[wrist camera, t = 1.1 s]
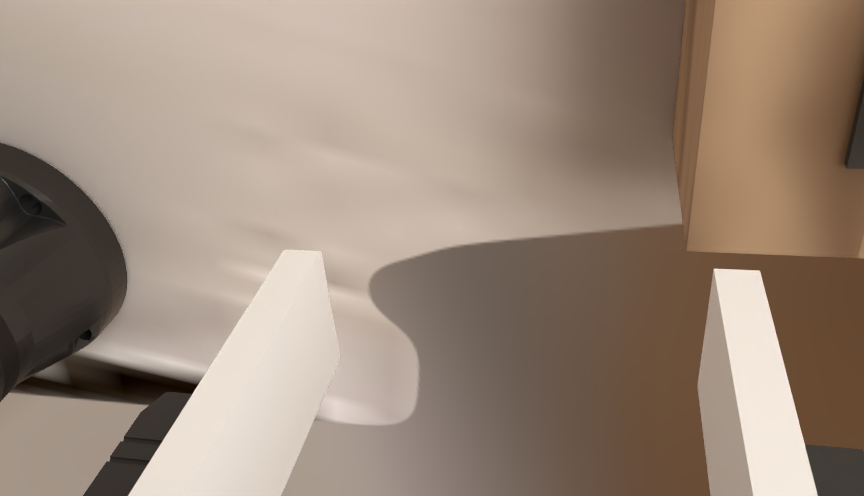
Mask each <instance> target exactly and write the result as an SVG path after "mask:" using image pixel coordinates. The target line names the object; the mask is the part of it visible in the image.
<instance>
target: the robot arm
mask: <svg viewBox="0 0 864 496" xmlns="http://www.w3.org/2000/svg"><path fill="white" fill-rule="evenodd" d="M126 288H127V272H126V265H125V260H124V257H123V253H122V250H121V247H120V245H119V242H118V240H117V238H116V236H115V234H114V232H113V230H112V228H111V227H110V225H109V223H108V222H107V220H106V219H105V217H104V216H103V214H102V213H101V212H100V210H99V209H98V208H97V207H96V205H95V204H94V203H93V202H92V201H91V200H90V198H89V197H88V196H87V195H86V194H85V193H84V192H83V191H82V190H81V189H80V188H79V187H78V186H76V185H75V184H74V183H73V182H72V181H71V180H69V179H68V178H67V177H66V176H64V175H63V174H62V173H61V172H59V171H58V170H56V169H55V168H53V167H52V166H50V165H49V164H47V163H45V162H44V161H42V160H40V159H38V158H37V157H35V156H33V155H31V154H29V153H26V152H24V151H22V150H19V149H17V148H14V147H11V146H8V145H5V144H2V143H0V402H1V400H2V399H3V398H4V397H5V396H6V395H7V394H8V393H9V392H10V391H11V390H12V389H13V388H14V387H15V385H17V384H18V383H20V382H22V381H23V380H25V379H27V378H29V377H31V376H33V375H34V374H36V373H38V372H40V371H42V370H44V369H45V368H47V367H49V366H51V365H53V364H55V363H56V362H58V361H60V360H62V359H64V358H66V357H68V356H69V355H71V354H73V353H75V352H77V351H79V350H80V349H82V348H84V347H85V346H87V345H88V344H90V343H91V342H92V341H93V340H94V339H96V338H97V337H98V336H99V334H100V333H101V332H102V331H103V330H104V329H105V327H106V326H107V325H108V324H109V323H110V322H111V320H112V319H113V318H114V317H115V316H116V314H117V313H118V311H119V310H120V308H121V306H122V304H123V301H124V298H125V294H126ZM339 362H340V353H339V348H338V342H337V336H336V331H335V325H334V320H333V314H332V309H331V303H330V297H329V292H328V286H327V281H326V275H325V270H324V264H323V258H322V253H321V251H307V250H285V249H284V251H283V252H282V254H281V255H280V257H279V259H278V260H277V262H276V263H275V265H274V266H273V268H272V270H271V271H270V273H269V274H268V276H267V278H266V279H265V281H264V282H263V284H262V285H261V287H260V289H259V290H258V292H257V293H256V295H255V296H254V298H253V300H252V301H251V303H250V304H249V306H248V307H247V309H246V311H245V312H244V314H243V315H242V317H241V318H240V320H239V322H238V323H237V325H236V326H235V328H234V330H233V331H232V333H231V334H230V336H229V337H228V339H227V341H226V342H225V344H224V345H223V347H222V348H221V350H220V352H219V353H218V355H217V356H216V358H215V359H214V361H213V363H212V364H211V366H210V367H209V369H208V371H207V372H206V374H205V375H204V377H203V378H202V380H201V382H200V383H199V385H198V386H197V388H196V389H195V391H194V393H193V394H186V393H174V392H166V393H165V394H163V395H162V396H161V397H159V398H158V399H157V400H156V401H154V402H153V403H152V404H151V405H149V406H148V407H147V408H146V409H144V410H143V411H142V412H141V413H140V414H139V416H138V417H137V419H136V420H135V421H134V423H133V425H132V426H131V427H130V429H129V430H128V432H127V433H126V435H125V436H124V441H123V442H120V443H119V445H118V446H117V447H116V449H115V450H114V452H113V453H112V455H111V456H110V461H109V462H106V463H105V465H104V466H103V468H102V469H101V471H100V472H99V473H98V475H97V476H96V478H95V479H94V481H93V482H92V484H91V485H90V486H89V488H88V489H87V491H86V492H85V494H84V495H83V496H281V494H282V492H283V490H284V487H285V485H286V483H287V481H288V478H289V476H290V474H291V471H292V469H293V467H294V465H295V462H296V460H297V458H298V455H299V453H300V451H301V448H302V446H303V444H304V442H305V439H306V437H307V435H308V433H309V430H310V428H311V426H312V423H313V421H314V419H315V417H316V414H317V412H318V410H319V407H320V405H321V403H322V401H323V398H324V396H325V394H326V391H327V389H328V387H329V384H330V382H331V380H332V378H333V375H334V373H335V371H336V368H337V366H338V364H339ZM698 393H699V402H700V410H701V418H702V427H703V435H704V444H705V452H706V460H707V469H708V477H709V486H710V493H711V496H864V451H863V450H862V449H850V448H839V447H827V446H816V445H805V444H804V441H803V436H802V432H801V429H800V425H799V421H798V417H797V413H796V409H795V405H794V401H793V397H792V394H791V390H790V386H789V382H788V378H787V374H786V370H785V367H784V363H783V359H782V355H781V351H780V347H779V343H778V340H777V336H776V332H775V328H774V324H773V320H772V317H771V312H770V308H769V305H768V300H767V297H766V293H765V289H764V286H763V281H762V277H761V273H760V271H754V270H733V269H732V270H731V269H714V271H713V278H712V285H711V293H710V300H709V307H708V314H707V322H706V328H705V336H704V343H703V350H702V357H701V364H700V371H699V378H698Z"/></svg>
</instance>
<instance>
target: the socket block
mask: <svg viewBox="0 0 864 496" xmlns="http://www.w3.org/2000/svg"><path fill="white" fill-rule="evenodd" d="M673 148H674V156H675V164H676V172H677V180H678V187H679V195H680V203H681V211H682V219H683V226H684V235H685V242H686V249H687V251H697V252H720V253H745V254H770V255H794V256H819V257H843V258H864V0H686V3H685V14H684V24H683V35H682V45H681V56H680V66H679V77H678V87H677V98H676V108H675V119H674V129H673Z"/></svg>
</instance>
